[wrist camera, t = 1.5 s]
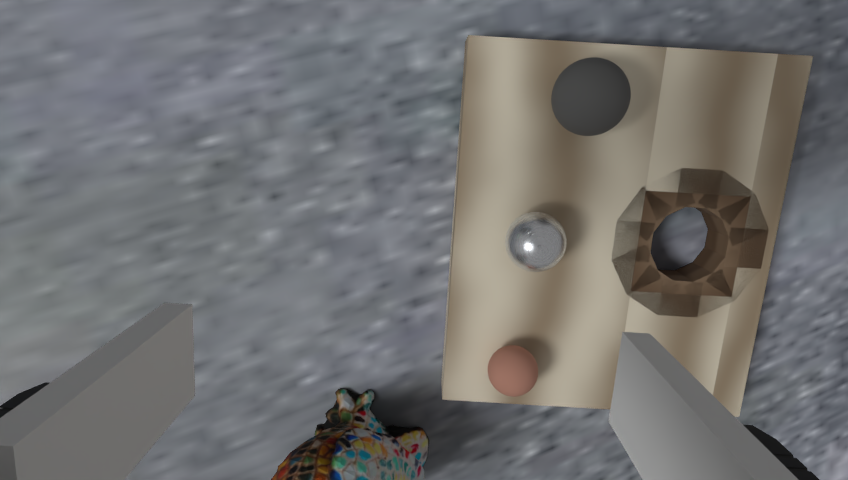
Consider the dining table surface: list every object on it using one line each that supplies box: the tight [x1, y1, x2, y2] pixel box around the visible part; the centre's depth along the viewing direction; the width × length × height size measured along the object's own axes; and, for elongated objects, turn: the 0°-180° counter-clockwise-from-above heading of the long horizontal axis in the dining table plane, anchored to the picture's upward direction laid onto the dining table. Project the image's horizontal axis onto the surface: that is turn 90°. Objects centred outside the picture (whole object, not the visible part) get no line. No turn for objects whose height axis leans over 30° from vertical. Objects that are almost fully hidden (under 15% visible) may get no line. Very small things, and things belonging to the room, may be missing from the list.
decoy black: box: [551, 57, 631, 136], centre depth 29 cm, size 4×4×4 cm
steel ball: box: [505, 212, 567, 272], centre depth 31 cm, size 3×3×3 cm
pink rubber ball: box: [488, 345, 538, 397], centre depth 33 cm, size 3×3×3 cm
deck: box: [441, 35, 813, 417], centre depth 34 cm, size 19×22×2 cm
